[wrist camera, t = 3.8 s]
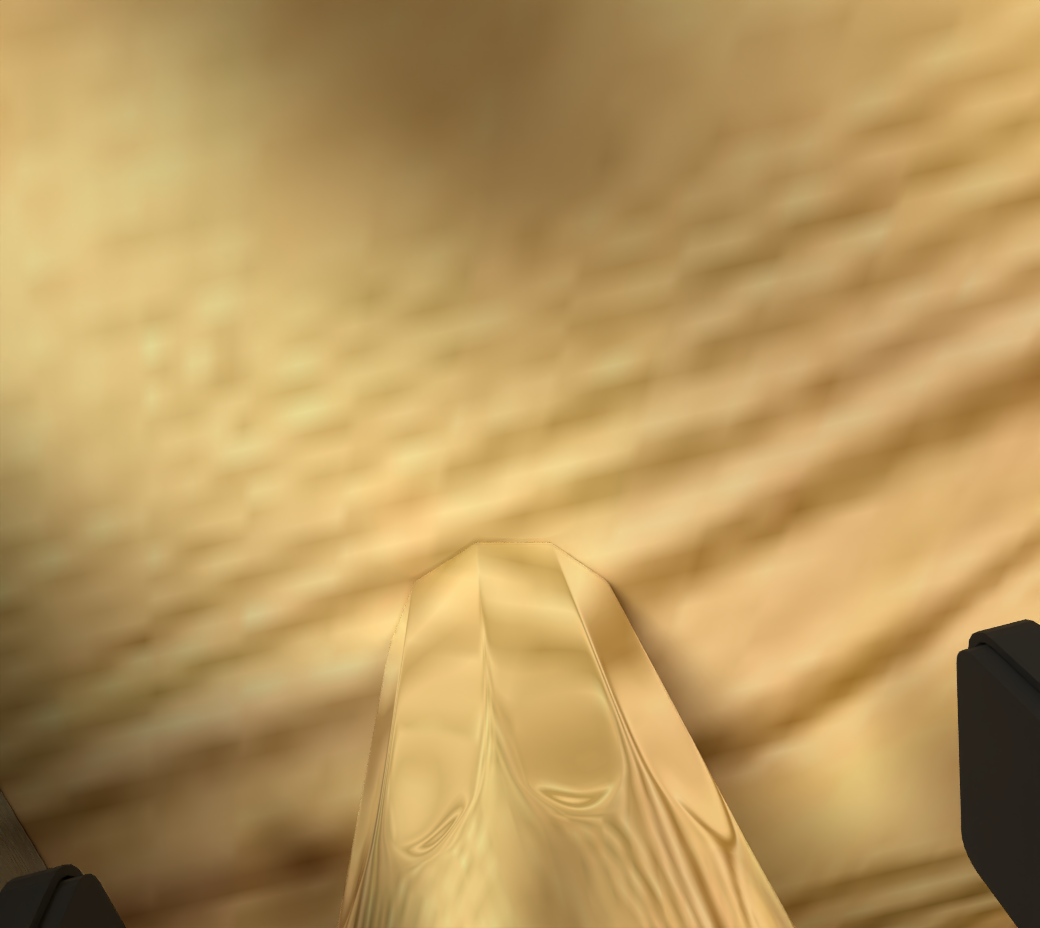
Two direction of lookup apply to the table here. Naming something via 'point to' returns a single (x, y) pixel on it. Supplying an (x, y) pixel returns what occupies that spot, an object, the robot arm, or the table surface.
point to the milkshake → (538, 767)
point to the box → (15, 847)
